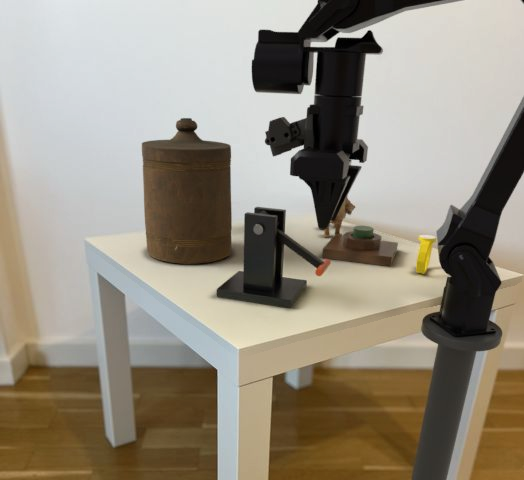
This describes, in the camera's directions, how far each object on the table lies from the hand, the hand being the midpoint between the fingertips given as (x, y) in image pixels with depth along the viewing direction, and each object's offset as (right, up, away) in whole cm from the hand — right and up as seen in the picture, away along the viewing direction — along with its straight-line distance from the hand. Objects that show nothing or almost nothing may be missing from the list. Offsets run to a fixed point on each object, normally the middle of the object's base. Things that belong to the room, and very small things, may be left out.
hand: (326, 224), depth 73 cm
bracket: (-9, -8, +7) cm, 14 cm away
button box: (+9, 0, +26) cm, 28 cm away
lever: (-5, -3, +3) cm, 7 cm away
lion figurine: (+6, +7, +39) cm, 40 cm away
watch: (+18, -4, +19) cm, 26 cm away
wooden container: (-22, 0, +24) cm, 32 cm away
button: (+9, +3, +25) cm, 27 cm away
